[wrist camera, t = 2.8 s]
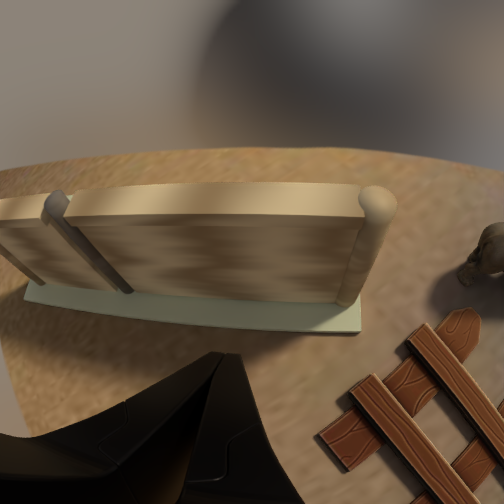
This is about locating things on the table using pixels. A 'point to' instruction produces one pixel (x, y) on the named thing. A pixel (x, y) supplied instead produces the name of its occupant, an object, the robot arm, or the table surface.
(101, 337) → the table surface
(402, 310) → the table surface
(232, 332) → the table surface
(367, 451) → the decorative fence
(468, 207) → the table surface
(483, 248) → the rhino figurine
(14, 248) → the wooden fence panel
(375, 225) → the hinged fence panel
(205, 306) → the card
